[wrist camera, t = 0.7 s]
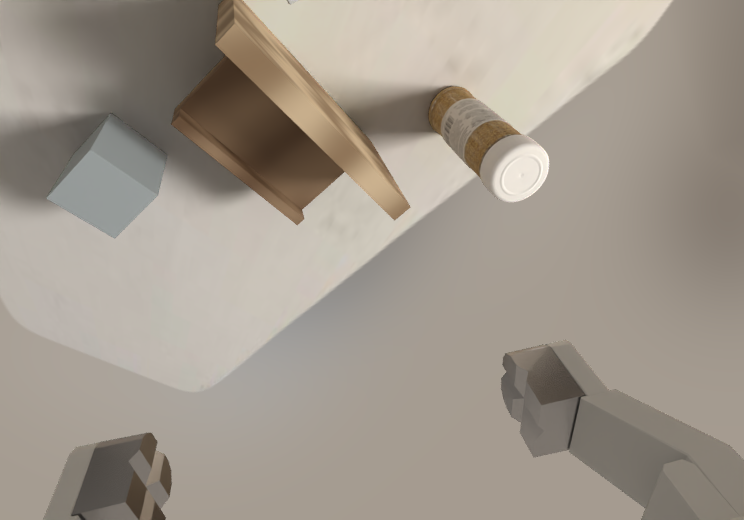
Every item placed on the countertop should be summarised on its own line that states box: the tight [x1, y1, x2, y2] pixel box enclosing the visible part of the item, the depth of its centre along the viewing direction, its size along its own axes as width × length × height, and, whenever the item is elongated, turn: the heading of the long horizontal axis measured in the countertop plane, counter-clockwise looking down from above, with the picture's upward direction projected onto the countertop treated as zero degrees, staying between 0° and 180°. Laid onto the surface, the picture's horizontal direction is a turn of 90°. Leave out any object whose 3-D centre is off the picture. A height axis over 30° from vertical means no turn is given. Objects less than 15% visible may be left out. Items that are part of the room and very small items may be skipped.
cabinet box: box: [46, 113, 167, 238], centre depth 36 cm, size 5×6×7 cm
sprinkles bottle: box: [429, 87, 549, 202], centre depth 37 cm, size 5×5×13 cm
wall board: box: [171, 0, 410, 225], centre depth 34 cm, size 16×8×12 cm, turn 39°
